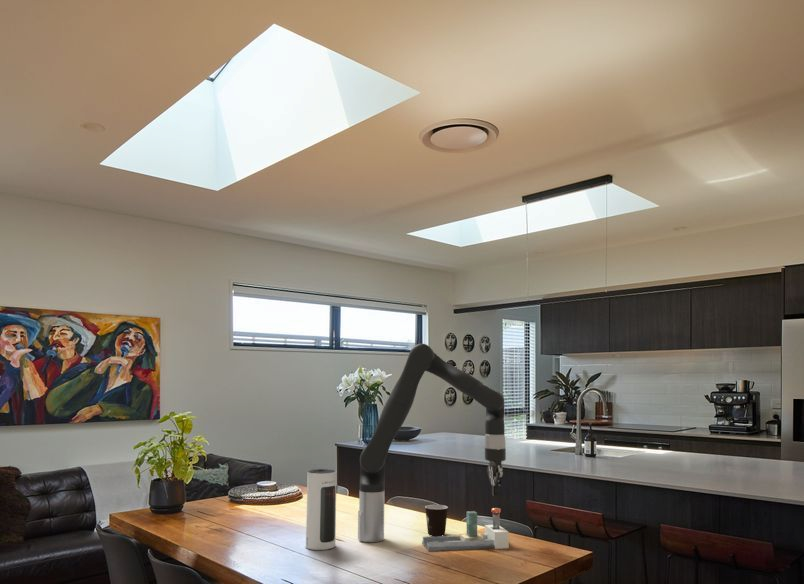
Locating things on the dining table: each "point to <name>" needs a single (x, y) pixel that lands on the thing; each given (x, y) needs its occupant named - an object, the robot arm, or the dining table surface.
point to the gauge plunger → (496, 518)
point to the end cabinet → (498, 536)
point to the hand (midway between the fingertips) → (495, 496)
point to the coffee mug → (436, 519)
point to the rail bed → (456, 543)
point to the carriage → (471, 528)
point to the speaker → (321, 509)
